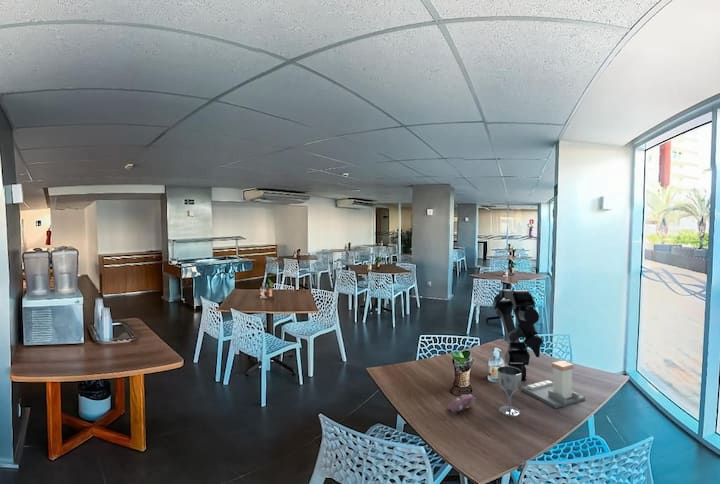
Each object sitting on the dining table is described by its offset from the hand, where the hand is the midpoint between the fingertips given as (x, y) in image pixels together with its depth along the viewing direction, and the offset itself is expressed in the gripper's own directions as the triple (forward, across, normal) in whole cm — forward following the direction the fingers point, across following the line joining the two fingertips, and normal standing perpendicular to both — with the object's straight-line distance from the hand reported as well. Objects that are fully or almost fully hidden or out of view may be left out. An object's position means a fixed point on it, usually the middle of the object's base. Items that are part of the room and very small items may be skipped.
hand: (537, 357), depth 147 cm
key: (+13, +9, +3) cm, 16 cm away
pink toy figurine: (+4, +25, -33) cm, 41 cm away
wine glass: (+9, +23, -17) cm, 30 cm away
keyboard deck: (+13, +6, 0) cm, 15 cm away
